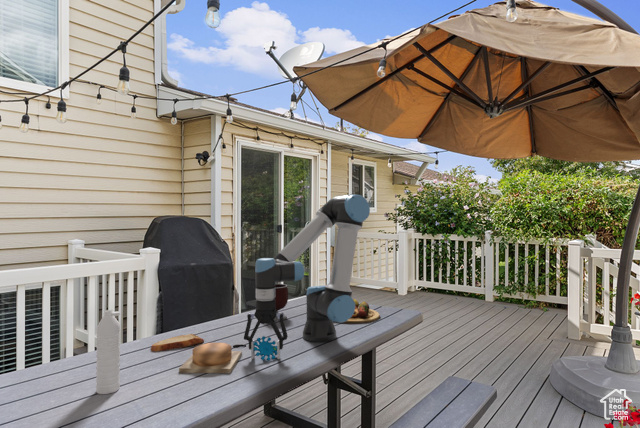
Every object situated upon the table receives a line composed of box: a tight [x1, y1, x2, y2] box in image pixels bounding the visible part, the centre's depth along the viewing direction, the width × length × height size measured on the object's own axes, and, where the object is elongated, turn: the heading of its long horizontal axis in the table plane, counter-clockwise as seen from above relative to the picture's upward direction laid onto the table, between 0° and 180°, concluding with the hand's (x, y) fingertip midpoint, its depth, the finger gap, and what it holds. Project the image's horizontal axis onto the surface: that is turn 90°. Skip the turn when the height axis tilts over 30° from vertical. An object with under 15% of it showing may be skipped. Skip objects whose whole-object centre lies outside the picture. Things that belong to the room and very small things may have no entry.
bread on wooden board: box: [178, 342, 243, 374], centre depth 147 cm, size 18×18×6 cm
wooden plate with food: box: [335, 298, 381, 325], centre depth 217 cm, size 32×32×8 cm
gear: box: [254, 335, 277, 362], centre depth 153 cm, size 11×6×10 cm
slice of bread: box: [149, 333, 205, 352], centre depth 168 cm, size 18×18×4 cm
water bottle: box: [95, 309, 121, 395], centre depth 124 cm, size 9×6×25 cm
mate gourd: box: [274, 283, 289, 321], centre depth 214 cm, size 16×14×20 cm
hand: (265, 357), depth 152 cm, fingers closed on gear, 9 cm apart
